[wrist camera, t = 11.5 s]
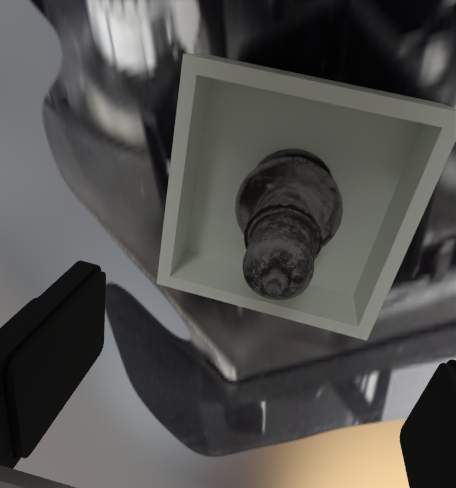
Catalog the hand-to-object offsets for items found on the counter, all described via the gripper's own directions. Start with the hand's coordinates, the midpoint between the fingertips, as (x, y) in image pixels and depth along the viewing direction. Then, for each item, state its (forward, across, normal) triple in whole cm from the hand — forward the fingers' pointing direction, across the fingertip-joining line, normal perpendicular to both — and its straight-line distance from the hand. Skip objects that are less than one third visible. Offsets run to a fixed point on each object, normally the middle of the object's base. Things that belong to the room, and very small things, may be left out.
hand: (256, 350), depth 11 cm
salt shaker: (+16, 0, +1) cm, 16 cm away
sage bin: (+16, 0, +1) cm, 16 cm away
